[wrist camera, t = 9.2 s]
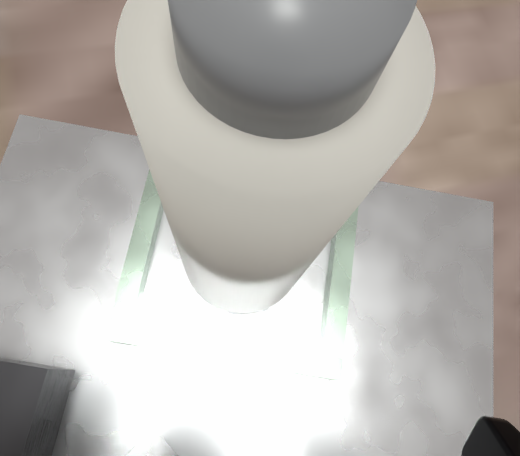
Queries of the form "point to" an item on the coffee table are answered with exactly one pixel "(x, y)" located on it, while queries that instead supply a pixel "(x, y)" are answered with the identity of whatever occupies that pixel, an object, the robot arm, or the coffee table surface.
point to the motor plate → (230, 321)
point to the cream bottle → (269, 125)
